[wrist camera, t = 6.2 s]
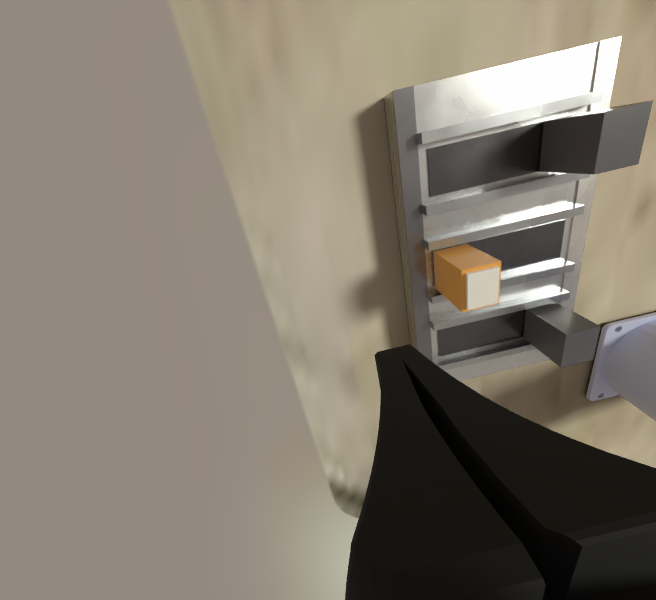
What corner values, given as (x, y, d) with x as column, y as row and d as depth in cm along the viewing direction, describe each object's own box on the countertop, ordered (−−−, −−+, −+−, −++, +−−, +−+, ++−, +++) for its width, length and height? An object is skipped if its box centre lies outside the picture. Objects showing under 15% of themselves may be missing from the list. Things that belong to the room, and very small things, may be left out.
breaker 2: (555, 301, 20) (600, 326, 17) (550, 331, 21) (593, 359, 18) (525, 308, 20) (566, 334, 17) (523, 337, 21) (560, 367, 18)
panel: (591, 47, 15) (634, 31, 13) (548, 345, 24) (571, 361, 22) (383, 97, 15) (396, 88, 13) (413, 376, 24) (424, 396, 22)
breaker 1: (582, 112, 15) (652, 100, 12) (575, 163, 16) (638, 163, 13) (543, 121, 15) (604, 111, 12) (539, 171, 16) (594, 174, 13)
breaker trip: (466, 243, 17) (503, 262, 14) (466, 280, 18) (501, 305, 15) (433, 251, 17) (463, 271, 14) (435, 287, 19) (463, 314, 15)
